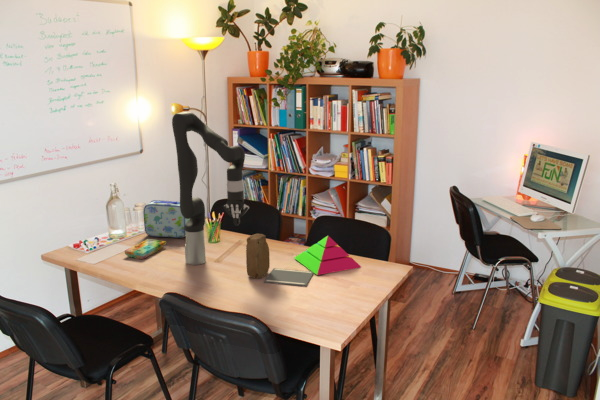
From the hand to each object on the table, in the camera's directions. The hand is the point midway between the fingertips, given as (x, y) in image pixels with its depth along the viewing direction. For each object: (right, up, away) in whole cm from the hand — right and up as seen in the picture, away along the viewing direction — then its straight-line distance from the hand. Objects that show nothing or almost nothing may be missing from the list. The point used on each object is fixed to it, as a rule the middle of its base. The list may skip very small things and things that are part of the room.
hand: (236, 225), depth 249 cm
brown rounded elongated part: (+10, -24, +4) cm, 26 cm away
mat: (+25, -25, +1) cm, 35 cm away
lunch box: (-47, -9, +61) cm, 77 cm away
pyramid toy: (+43, -20, +18) cm, 51 cm away
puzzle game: (-52, -17, +35) cm, 65 cm away
